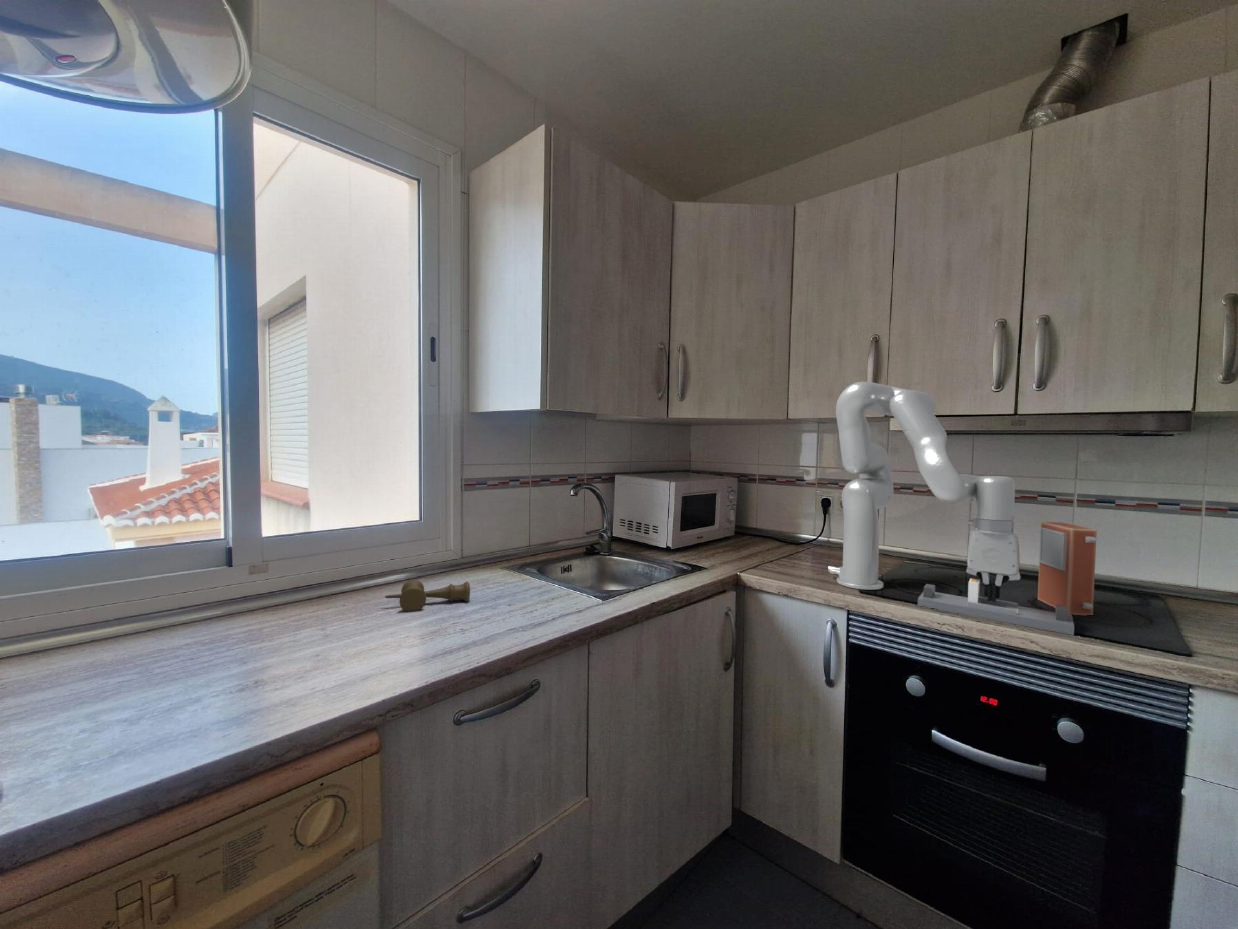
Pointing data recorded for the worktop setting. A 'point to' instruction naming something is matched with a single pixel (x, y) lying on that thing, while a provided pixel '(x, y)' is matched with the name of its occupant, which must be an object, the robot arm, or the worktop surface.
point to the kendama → (428, 594)
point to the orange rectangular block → (1067, 566)
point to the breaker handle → (973, 590)
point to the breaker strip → (999, 611)
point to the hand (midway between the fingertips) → (991, 600)
